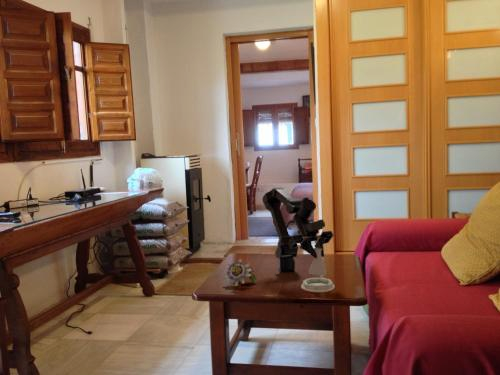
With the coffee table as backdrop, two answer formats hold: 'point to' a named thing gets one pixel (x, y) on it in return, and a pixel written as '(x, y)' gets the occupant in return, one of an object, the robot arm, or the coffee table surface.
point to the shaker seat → (317, 285)
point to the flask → (317, 264)
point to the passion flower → (239, 273)
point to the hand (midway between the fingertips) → (319, 257)
